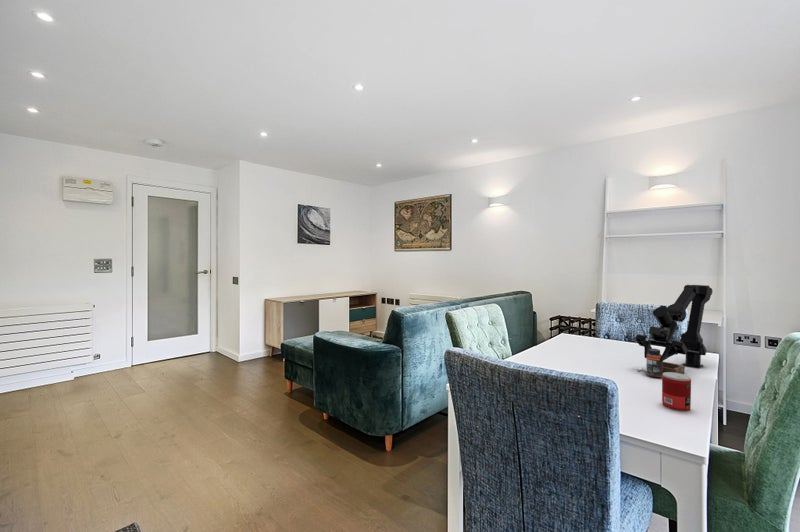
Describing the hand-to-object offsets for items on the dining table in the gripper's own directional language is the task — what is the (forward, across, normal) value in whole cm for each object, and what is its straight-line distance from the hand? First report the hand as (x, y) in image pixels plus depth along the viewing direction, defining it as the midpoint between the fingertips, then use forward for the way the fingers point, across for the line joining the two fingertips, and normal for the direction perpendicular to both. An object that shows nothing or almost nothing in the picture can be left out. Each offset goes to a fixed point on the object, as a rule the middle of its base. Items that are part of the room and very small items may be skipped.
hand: (652, 359), depth 159 cm
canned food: (+25, +21, -14) cm, 35 cm away
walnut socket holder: (-3, 0, +14) cm, 14 cm away
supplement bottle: (+4, 0, +6) cm, 8 cm away
